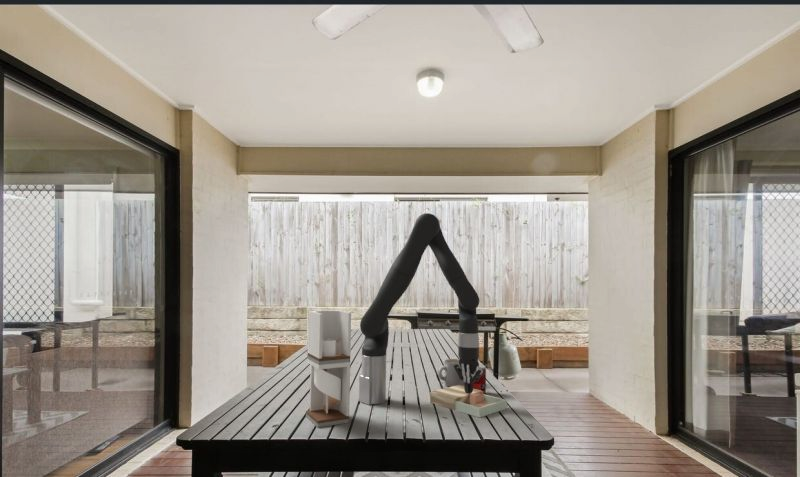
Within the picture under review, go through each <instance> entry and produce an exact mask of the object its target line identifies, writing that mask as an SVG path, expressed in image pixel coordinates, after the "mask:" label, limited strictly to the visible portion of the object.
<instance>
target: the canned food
mask: <svg viewBox="0 0 800 477" xmlns="http://www.w3.org/2000/svg"><path fill="white" fill-rule="evenodd" d="M479 367H480V368H481V369H484V373H483V374H482V375H481V377H480V378H479V380H478V381H477V382H473V389H477V390H481V391H483V393H484V394H485V395H486V391H487V386H486V385H487V368H486V367H487V366H485V365H484V364H479ZM475 373H476V371H475Z"/></svg>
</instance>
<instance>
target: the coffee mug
mask: <svg viewBox="0 0 800 477" xmlns="http://www.w3.org/2000/svg"><path fill="white" fill-rule="evenodd" d="M459 359H460V358H448V359H445V360H444V365H441V366H440V367H438V371H437V374H438V378H439V379H440V380H441V381H443V382H444V385H445V386H447V387H452V386H456V385H461V386H464V381H463V380H460V378H459V376H458V374H457V372H456V370H455V368H454V365H457V364H458V363H459ZM443 371H444V376H443V375H442V373H443ZM461 375H462V374H461Z"/></svg>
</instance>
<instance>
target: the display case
mask: <svg viewBox="0 0 800 477" xmlns="http://www.w3.org/2000/svg"><path fill="white" fill-rule="evenodd" d="M307 322H308V323H307V324H308V325H307V358H306V359H307V364H309V365H310V372H309V373H310V374H309V375H310V376H309V378H310V379H309V380H310V381H309V382H310V383H309V409H308V410H306V411H305V418H306V419H307V420H308V421H310V422H311V423H312V424H313V425H314V426H315V427H316V428H323V427H329V426H335V425H341V424H342V425H343V424H348V423H349V424H350V404H351V403H350V398H351V397H350V395H351V391H350V390H351V347H352V346H351V345H352V344H351V342H352V340H351V336H352V333H351V332H352V312H349V311H344V310H340V309H335V310H334V309H329V310H308V320H307Z"/></svg>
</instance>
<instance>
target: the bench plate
mask: <svg viewBox="0 0 800 477" xmlns="http://www.w3.org/2000/svg"><path fill="white" fill-rule="evenodd" d="M477 392H480V393H483V391H481V390H477V389H473V392H472V393H470V394H473V393H477ZM429 393H430V394H429V395H430V398H429V399H430V400H429V401H430V402H429V403H430V404H433V405H437V406H440V407H443V408H446V409H449V410H453V411H456V410H455V401H458V402H462V403H465V404H469V405H470V394H468V393H465V390H464V386H461V385H456V386H452V387H449V386H447V387H444V388H440V389H436V390H432V391H430V392H429Z"/></svg>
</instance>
